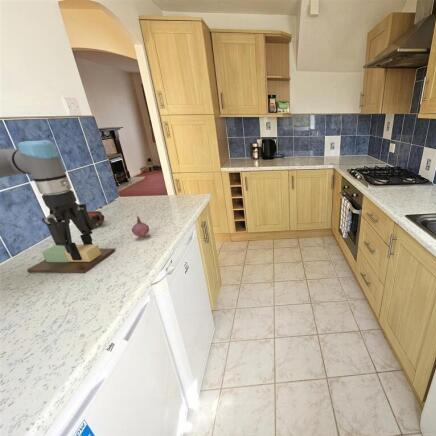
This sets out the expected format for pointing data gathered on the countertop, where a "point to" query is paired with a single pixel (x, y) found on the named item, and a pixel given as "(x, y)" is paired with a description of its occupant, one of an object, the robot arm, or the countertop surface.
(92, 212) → the pottery mug
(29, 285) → the countertop surface
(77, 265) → the board
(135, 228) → the vegetable
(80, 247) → the sand pad
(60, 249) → the sage pad
